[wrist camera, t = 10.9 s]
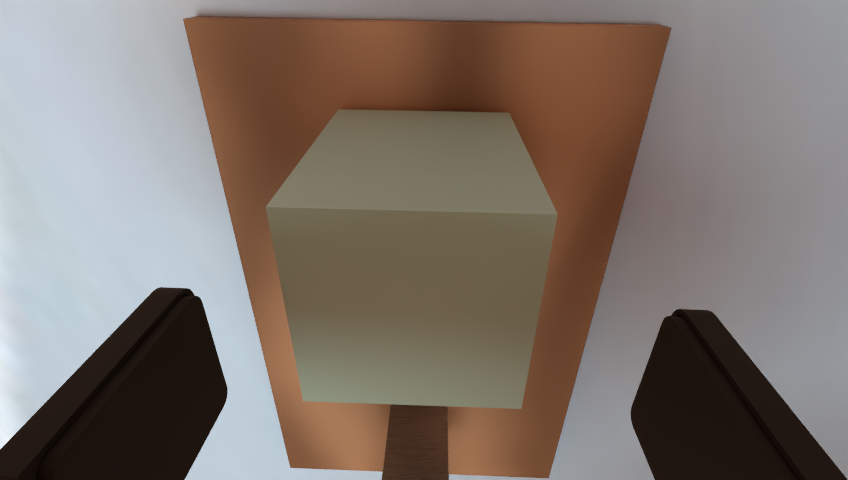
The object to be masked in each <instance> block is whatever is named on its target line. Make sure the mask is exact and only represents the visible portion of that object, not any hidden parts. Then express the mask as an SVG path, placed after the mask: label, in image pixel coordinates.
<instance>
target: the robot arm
mask: <svg viewBox="0 0 848 480" xmlns="http://www.w3.org/2000/svg"><path fill="white" fill-rule="evenodd" d="M226 398H227V386H226V382H225V379H224V375H223V372H222V368H221V365H220V362H219V358H218V355H217V351H216V348H215V345H214V341H213V338H212V334H211V331H210V327H209V324H208V321H207V317H206V314H205V310H204V307H203V304H202V301H201V299H200V298H199V297H198V296H194V294H193V292H192V291H191V290H190V289H186V288H163V287H161V288H157V289H156V290H154V291H153V292H152V293H151V294H150V295H149V296H148V297H147V298H146V299H145V300H144V301H143V302H142V303H141V304H140V306H139V307H138V308H137V309H136V310H135V311H134V312H133V313H132V314H131V315H130V316H129V317H128V318H127V319H126V320H125V321H124V322H123V323H122V324H121V325H120V326H119V327H118V328H117V329H116V330H115V331H114V332H113V333H112V334H111V336H110V337H109V338H108V339H107V340H106V341H105V342H104V343H103V344H102V345H101V346H100V347H99V348H98V349H97V350H96V351H95V352H94V353H93V354H92V355H91V356H90V357H89V358H88V359H87V360H86V361H85V362H84V363H83V365H82V366H81V367H80V368H79V369H78V370H77V371H76V372H75V373H74V374H73V375H72V376H71V377H70V378H69V379H68V380H67V381H66V382H65V383H64V384H63V385H62V386H61V387H60V388H59V389H58V390H57V391H56V392H55V394H54V395H53V396H52V397H51V398H50V399H49V400H48V401H47V402H46V403H45V404H44V405H43V406H42V407H41V408H40V409H39V410H38V411H37V412H36V413H35V414H34V415H33V416H32V417H31V418H30V419H29V420H28V421H27V423H26V424H25V425H24V426H23V427H22V428H21V429H20V430H19V431H18V432H17V433H16V434H15V435H14V436H13V437H12V438H11V439H10V440H9V441H8V442H7V443H6V444H5V445H4V446H3V447H2V448H1V449H0V480H185V478H186V476H187V474H188V472H189V470H190V468H191V466H192V465H193V463H194V461H195V459H196V457H197V455H198V453H199V452H200V450H201V448H202V446H203V444H204V442H205V440H206V438H207V437H208V435H209V433H210V431H211V429H212V427H213V425H214V424H215V422H216V420H217V418H218V416H219V414H220V412H221V410H222V409H223V407H224V404H225V402H226ZM631 421H632V425H633V428H634V430H635V433H636V435H637V437H638V440H639V442H640V445H641V447H642V450H643V452H644V454H645V457H646V459H647V462H648V464H649V466H650V469H651V471H652V474H653V476H654V478H655V480H847V479H846V477H845V476H844V475H843V474H842V472H841V471H840V470H839V469H838V467H837V466H836V465H835V464H834V462H833V461H832V460H831V459H830V457H829V456H828V455H827V454H826V452H825V451H824V450H823V449H822V447H821V446H820V445H819V444H818V442H817V441H816V440H815V439H814V437H813V436H812V435H811V434H810V432H809V431H808V430H807V429H806V427H805V426H804V425H803V424H802V423H801V421H800V420H799V419H798V418H797V416H796V415H795V414H794V413H793V411H792V410H791V409H790V408H789V406H788V405H787V404H786V403H785V401H784V400H783V399H782V398H781V396H780V395H779V394H778V393H777V391H776V390H775V389H774V388H773V386H772V385H771V384H770V383H769V381H768V380H767V379H766V378H765V376H764V375H763V374H762V373H761V371H760V370H759V369H758V368H757V367H756V365H755V364H754V363H753V362H752V360H751V359H750V358H749V357H748V355H747V354H746V353H745V352H744V350H743V349H742V348H741V347H740V345H739V344H738V343H737V342H736V340H735V339H734V338H733V337H732V335H731V334H730V333H729V332H728V330H727V329H726V328H725V327H724V325H723V324H722V323H721V322H720V320H719V319H718V318H717V317H716V315H714V314H713V313H712V312H711V311H708V310H687V309H678V310H676V311H674V312H673V314H672V316H667V317H665V318H664V320H663V322H662V325H661V327H660V330H659V333H658V336H657V338H656V341H655V344H654V347H653V349H652V352H651V355H650V358H649V361H648V363H647V366H646V369H645V372H644V374H643V377H642V380H641V383H640V385H639V388H638V391H637V394H636V396H635V399H634V402H633V405H632V408H631Z"/></svg>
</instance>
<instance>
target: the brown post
mask: <svg viewBox="0 0 848 480" xmlns="http://www.w3.org/2000/svg"><path fill="white" fill-rule="evenodd" d="M382 480H449V470H448V406H423V405H395V404H391V406H390V415H389V423H388V432H387V440H386V449H385V457H384V466H383V475H382Z"/></svg>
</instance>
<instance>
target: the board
mask: <svg viewBox="0 0 848 480" xmlns="http://www.w3.org/2000/svg"><path fill="white" fill-rule="evenodd" d="M183 20H184V24H185V29H186V33H187V37H188V41H189V45H190V49H191V54H192V58H193V62H194V66H195V70H196V75H197V79H198V83H199V87H200V91H201V95H202V100H203V104H204V108H205V112H206V116H207V121H208V125H209V129H210V133H211V137H212V141H213V146H214V150H215V154H216V158H217V162H218V167H219V171H220V175H221V179H222V183H223V188H224V192H225V196H226V200H227V204H228V208H229V213H230V217H231V221H232V225H233V229H234V234H235V238H236V242H237V246H238V250H239V254H240V259H241V263H242V267H243V271H244V275H245V280H246V284H247V288H248V292H249V296H250V300H251V305H252V309H253V313H254V317H255V321H256V326H257V330H258V334H259V338H260V342H261V346H262V351H263V355H264V359H265V363H266V367H267V372H268V376H269V380H270V384H271V388H272V392H273V397H274V401H275V405H276V409H277V413H278V418H279V422H280V426H281V430H282V434H283V438H284V443H285V447H286V451H287V455H288V459H289V464H290V468H311V469H336V470H360V471H383V466H384V457H385V449H386V440H387V432H388V423H389V415H390V406H391V404H366V403H338V402H309V401H303V397H302V392H301V387H300V382H299V377H298V372H297V367H296V361H295V356H294V351H293V346H292V341H291V336H290V331H289V325H288V320H287V315H286V310H285V305H284V300H283V294H282V289H281V284H280V279H279V274H278V269H277V264H276V258H275V253H274V248H273V243H272V238H271V233H270V227H269V222H268V217H267V212H266V206H267V205H268V203H269V202H270V201H271V199H272V198H273V196H274V195H275V194H276V192H277V191H278V190H279V188H280V187H281V186H282V184H283V183H284V182H285V180H286V179H287V178H288V176H289V175H290V174H291V172H292V171H293V170H294V168H295V167H296V166H297V164H298V163H299V162H300V160H301V159H302V158H303V156H304V155H305V154H306V152H307V151H308V150H309V148H310V147H311V146H312V144H313V143H314V141H315V140H316V139H317V137H318V136H319V135H320V133H321V132H322V131H323V129H324V128H325V127H326V125H327V124H328V123H329V121H330V120H331V119H332V117H333V116H334V115H335V113H336V112H337V111H338V109H348V110H400V111H451V112H503V113H510V115H511V118H512V120H513V122H514V124H515V126H516V128H517V130H518V132H519V134H520V136H521V139H522V141H523V143H524V145H525V147H526V149H527V151H528V153H529V155H530V157H531V159H532V162H533V164H534V166H535V168H536V170H537V172H538V174H539V176H540V178H541V180H542V183H543V185H544V187H545V189H546V191H547V193H548V195H549V197H550V199H551V201H552V203H553V206H554V208H555V210H556V212H557V214H558V215H557V221H556V226H555V232H554V237H553V242H552V248H551V253H550V258H549V264H548V269H547V274H546V280H545V285H544V290H543V296H542V301H541V307H540V312H539V317H538V323H537V328H536V333H535V339H534V344H533V349H532V355H531V360H530V365H529V371H528V376H527V382H526V387H525V392H524V398H523V403H522V408H521V409H509V408H481V407H452V406H448V470H449V474H459V475H484V476H509V477H534V478H549V475H550V471H551V468H552V464H553V460H554V457H555V453H556V449H557V446H558V442H559V438H560V434H561V431H562V427H563V423H564V420H565V416H566V412H567V409H568V405H569V401H570V398H571V394H572V390H573V387H574V383H575V379H576V376H577V372H578V368H579V365H580V361H581V357H582V354H583V350H584V346H585V343H586V339H587V335H588V332H589V328H590V324H591V321H592V317H593V313H594V310H595V306H596V302H597V299H598V295H599V291H600V288H601V284H602V280H603V277H604V273H605V269H606V266H607V262H608V258H609V255H610V251H611V247H612V244H613V240H614V236H615V233H616V229H617V225H618V222H619V218H620V214H621V211H622V207H623V203H624V200H625V196H626V192H627V189H628V185H629V181H630V178H631V174H632V170H633V167H634V163H635V159H636V156H637V152H638V148H639V145H640V141H641V137H642V134H643V130H644V126H645V123H646V119H647V115H648V112H649V108H650V104H651V101H652V97H653V93H654V90H655V86H656V82H657V79H658V75H659V71H660V68H661V64H662V60H663V57H664V53H665V49H666V46H667V42H668V38H669V35H670V31H671V28H670V27H666V26H662V25H634V24H579V23H524V22H469V21H414V20H359V19H304V18H249V17H191V18H186V19H183Z"/></svg>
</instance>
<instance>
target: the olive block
mask: <svg viewBox="0 0 848 480" xmlns="http://www.w3.org/2000/svg"><path fill="white" fill-rule="evenodd" d="M266 212H267V217H268V222H269V227H270V233H271V238H272V243H273V248H274V253H275V258H276V264H277V269H278V274H279V279H280V284H281V289H282V294H283V300H284V305H285V310H286V315H287V320H288V325H289V331H290V336H291V341H292V346H293V351H294V356H295V361H296V367H297V372H298V377H299V382H300V387H301V392H302V397H303V401H309V402H338V403H366V404H395V405H423V406H452V407H481V408H509V409H521V408H522V403H523V398H524V392H525V387H526V382H527V376H528V371H529V365H530V360H531V355H532V349H533V344H534V339H535V333H536V328H537V323H538V317H539V312H540V307H541V301H542V296H543V290H544V285H545V280H546V274H547V269H548V264H549V258H550V253H551V248H552V242H553V237H554V232H555V226H556V221H557V215H558V214H557V212H556V210H555V208H554V206H553V203H552V201H551V199H550V197H549V195H548V193H547V191H546V189H545V187H544V185H543V183H542V180H541V178H540V176H539V174H538V172H537V170H536V168H535V166H534V164H533V162H532V159H531V157H530V155H529V153H528V151H527V149H526V147H525V145H524V143H523V141H522V139H521V136H520V134H519V132H518V130H517V128H516V126H515V124H514V122H513V120H512V118H511V115H510V113H503V112H451V111H400V110H348V109H338V111H337V112H336V113H335V115H334V116H333V117H332V119H331V120H330V121H329V123H328V124H327V125H326V127H325V128H324V129H323V131H322V132H321V133H320V135H319V136H318V137H317V139H316V140H315V141H314V143H313V144H312V146H311V147H310V148H309V150H308V151H307V152H306V154H305V155H304V156H303V158H302V159H301V160H300V162H299V163H298V164H297V166H296V167H295V168H294V170H293V171H292V172H291V174H290V175H289V176H288V178H287V179H286V180H285V182H284V183H283V184H282V186H281V187H280V188H279V190H278V191H277V192H276V194H275V195H274V196H273V198H272V199H271V201H270V202H269V203H268V205H267V206H266Z"/></svg>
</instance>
